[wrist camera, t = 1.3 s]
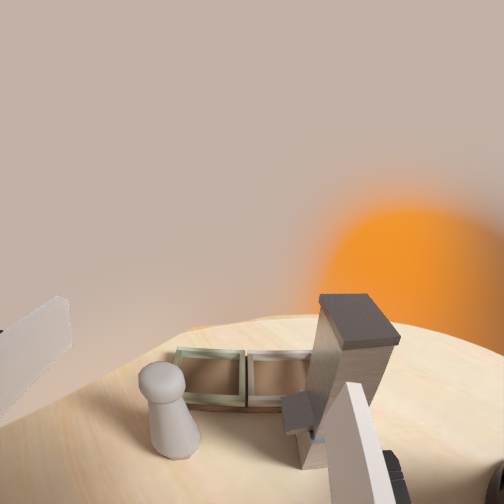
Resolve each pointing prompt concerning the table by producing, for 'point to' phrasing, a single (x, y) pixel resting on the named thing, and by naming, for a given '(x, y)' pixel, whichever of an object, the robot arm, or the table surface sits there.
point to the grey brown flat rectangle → (241, 378)
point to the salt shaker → (168, 411)
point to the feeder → (338, 368)
